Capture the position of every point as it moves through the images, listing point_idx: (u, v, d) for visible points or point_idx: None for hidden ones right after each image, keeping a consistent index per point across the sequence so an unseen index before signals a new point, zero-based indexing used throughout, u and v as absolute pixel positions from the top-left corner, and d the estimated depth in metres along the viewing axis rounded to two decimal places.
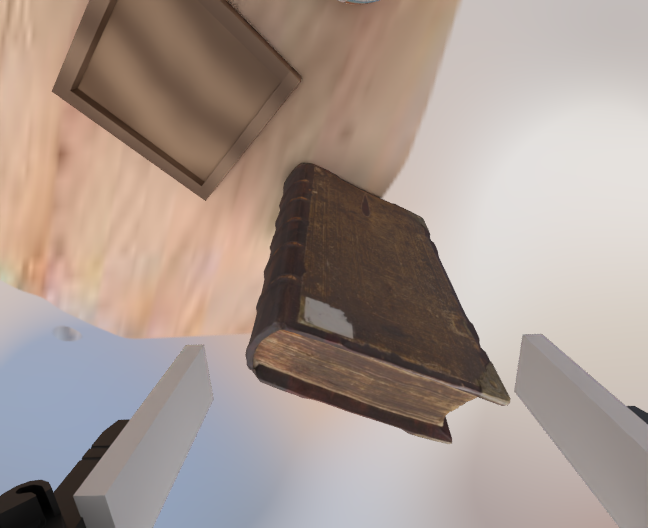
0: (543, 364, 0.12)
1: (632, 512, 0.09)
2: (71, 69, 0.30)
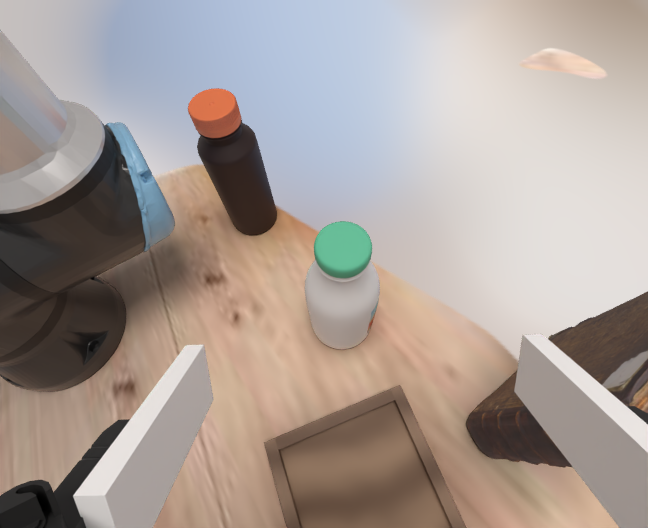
0: (543, 364, 0.12)
1: (632, 512, 0.09)
2: None
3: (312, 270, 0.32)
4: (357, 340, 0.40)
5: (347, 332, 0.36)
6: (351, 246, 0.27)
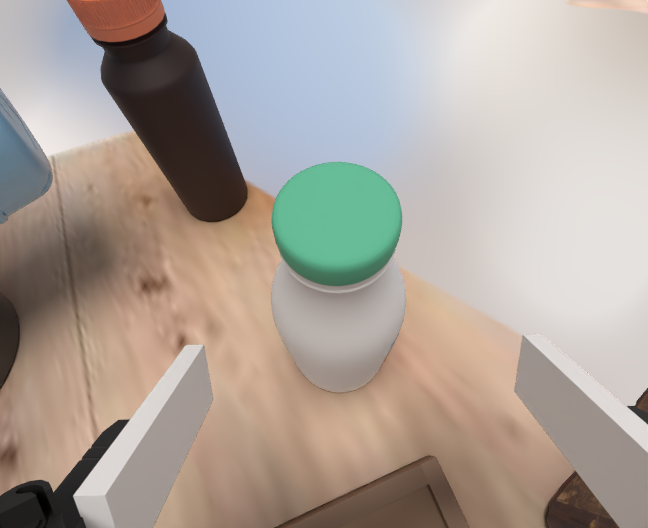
0: (543, 364, 0.12)
1: (632, 512, 0.09)
2: None
3: (280, 269, 0.17)
4: (364, 381, 0.25)
5: (349, 377, 0.20)
6: (355, 212, 0.12)
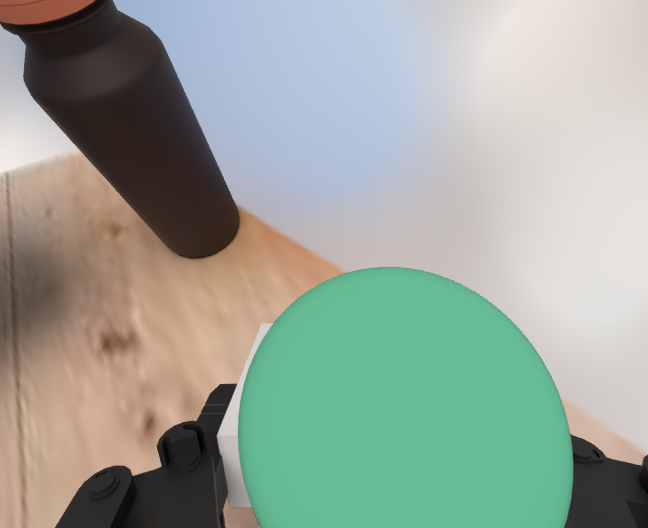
0: None
1: None
2: None
3: None
4: None
5: None
6: (453, 430, 0.04)
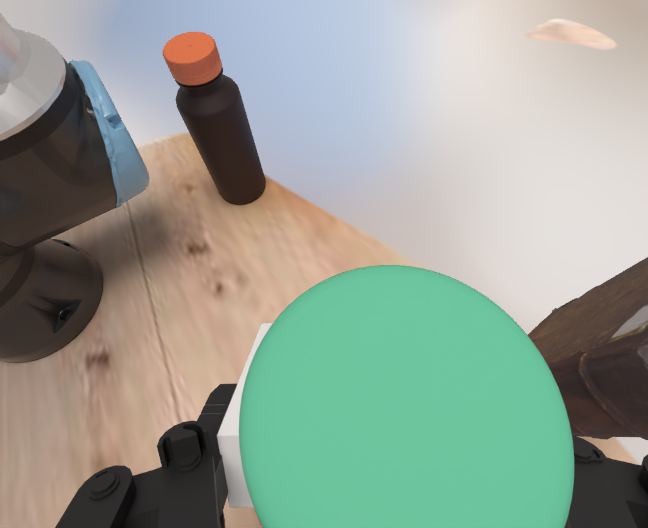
0: None
1: None
2: None
3: None
4: None
5: None
6: (454, 427, 0.04)
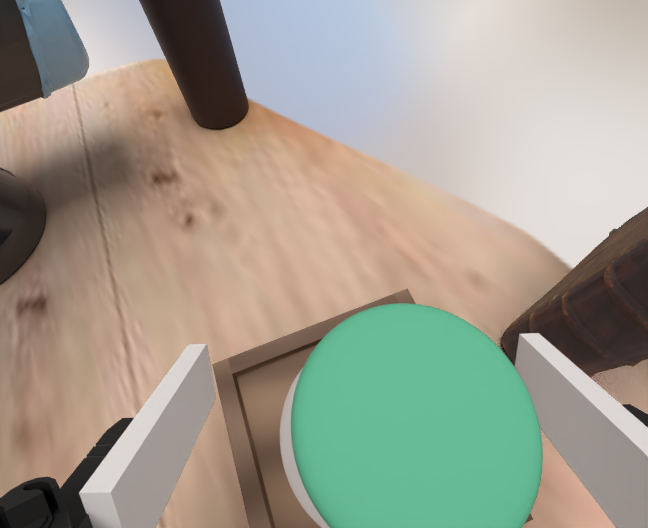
0: (539, 363, 0.12)
1: (626, 509, 0.09)
2: None
3: None
4: None
5: None
6: (454, 431, 0.06)
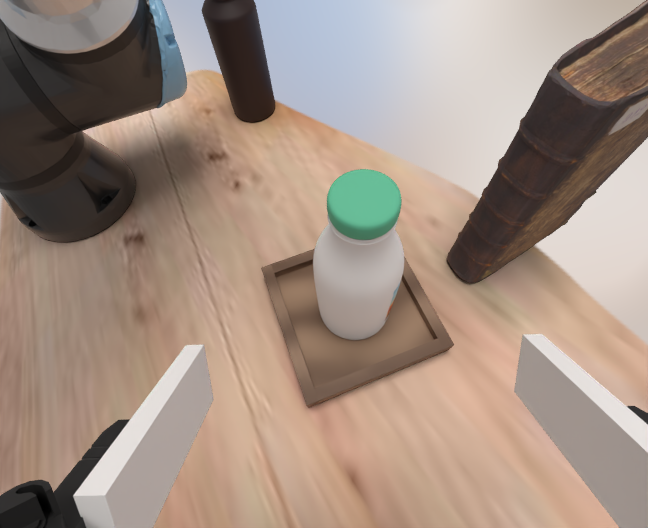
0: (543, 364, 0.12)
1: (632, 512, 0.09)
2: (303, 372, 0.34)
3: (323, 237, 0.26)
4: (373, 329, 0.34)
5: (364, 317, 0.30)
6: (375, 198, 0.21)
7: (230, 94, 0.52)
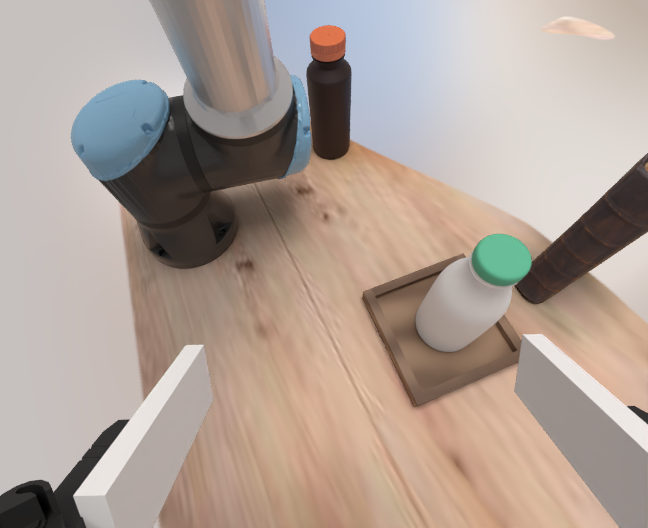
0: (543, 364, 0.12)
1: (632, 512, 0.09)
2: (411, 379, 0.43)
3: (453, 278, 0.34)
4: (468, 343, 0.42)
5: (472, 336, 0.38)
6: (513, 257, 0.29)
7: (316, 137, 0.60)
